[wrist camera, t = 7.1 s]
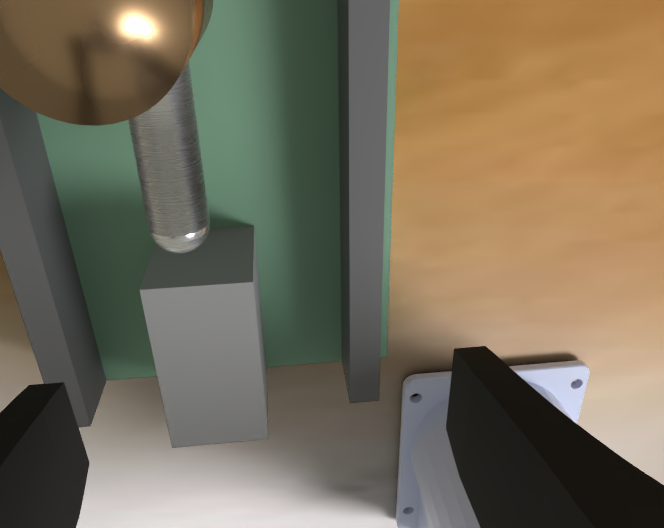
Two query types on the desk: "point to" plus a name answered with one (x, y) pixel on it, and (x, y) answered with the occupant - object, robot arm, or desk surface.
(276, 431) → the desk surface
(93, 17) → the kicker
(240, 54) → the pitch
